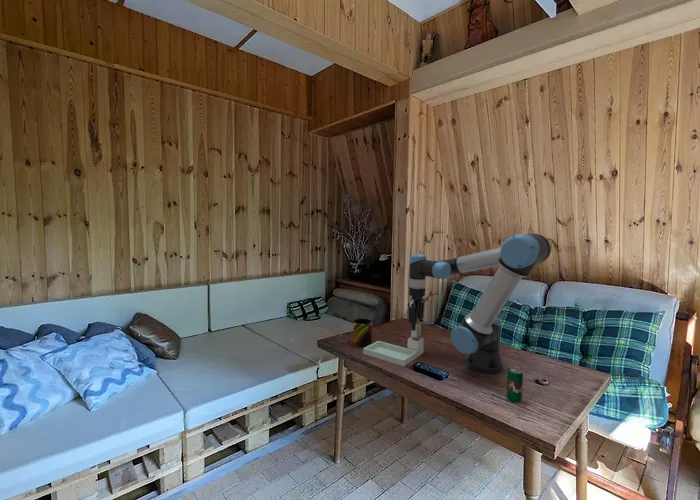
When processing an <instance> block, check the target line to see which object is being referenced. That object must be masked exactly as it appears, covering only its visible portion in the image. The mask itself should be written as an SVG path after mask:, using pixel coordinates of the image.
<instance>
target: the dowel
mask: <svg viewBox="0 0 700 500" xmlns="http://www.w3.org/2000/svg"><path fill="white" fill-rule="evenodd" d="M419 320H420V319H419V318H417V322H416V324H417V337H413V340H416V341H418V340H419V337H420V335H419Z"/></svg>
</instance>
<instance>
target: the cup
mask: <svg viewBox="0 0 700 500" xmlns="http://www.w3.org/2000/svg"><path fill="white" fill-rule="evenodd" d="M424 342H425V339H424V337H420V336H419V340H418V341H416V340H413V337H412V336H410V337H408V338H407V345H406V346H407V349H410V350H414V351H418V357H420V356H421V355H422V354H424Z"/></svg>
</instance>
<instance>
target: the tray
mask: <svg viewBox="0 0 700 500" xmlns="http://www.w3.org/2000/svg"><path fill="white" fill-rule="evenodd" d="M362 354H363V355H366V356H368V357H372V358H375V359H378V360H381V361H385V362H387V363H390V364H395V365H397V366H400V367H405V366H407V365H408V364H410V363H411V362H413V361H414V360H416V359H417V358H418V357H419V356H418V351H414V350H410V349H407V348H406V347H402V346H399V345H395V344H391V343H388V342H384V341H380V340H376V342H372V344H371V345H369V346H367V347H362Z"/></svg>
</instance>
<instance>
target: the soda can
mask: <svg viewBox="0 0 700 500" xmlns="http://www.w3.org/2000/svg"><path fill="white" fill-rule="evenodd" d="M506 377H507V378H506V379H507V380H506V396H505V397H506V399H507V400H509V402H512V403H521V401H522V399H523V385H524V384H523V383H524V382H523V381H524V380H523V379H524V371H523V368H522V367H521V366H519V365H509V366H508V368H507V375H506Z"/></svg>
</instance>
